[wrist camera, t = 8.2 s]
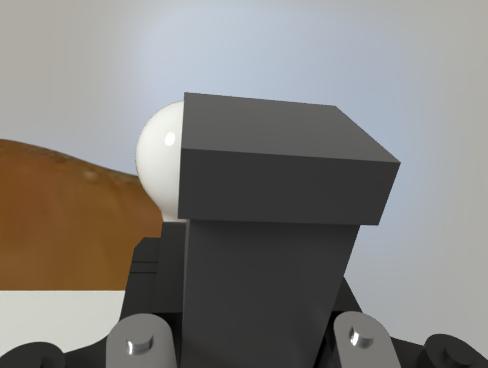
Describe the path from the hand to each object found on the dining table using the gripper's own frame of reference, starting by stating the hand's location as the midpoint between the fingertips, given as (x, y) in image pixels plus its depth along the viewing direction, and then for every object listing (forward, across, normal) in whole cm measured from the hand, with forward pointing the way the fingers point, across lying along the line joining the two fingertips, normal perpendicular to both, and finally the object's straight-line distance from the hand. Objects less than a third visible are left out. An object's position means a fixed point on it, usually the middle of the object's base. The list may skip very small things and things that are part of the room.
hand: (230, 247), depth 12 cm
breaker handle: (-3, 0, +6) cm, 6 cm away
